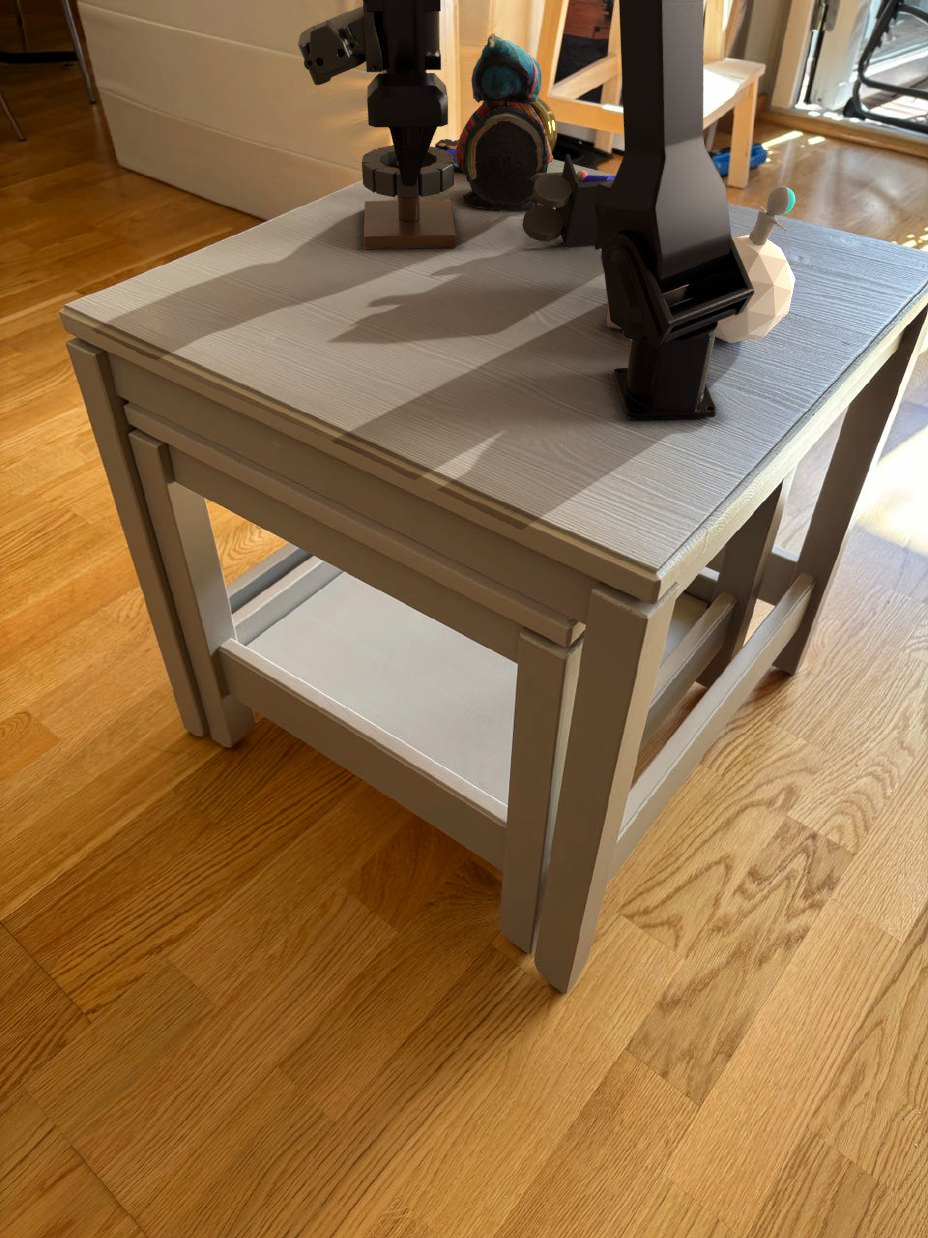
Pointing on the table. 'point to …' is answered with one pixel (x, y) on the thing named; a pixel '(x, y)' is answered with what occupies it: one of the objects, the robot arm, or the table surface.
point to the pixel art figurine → (450, 150)
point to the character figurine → (564, 206)
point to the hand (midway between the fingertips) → (408, 180)
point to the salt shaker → (546, 120)
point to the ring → (387, 178)
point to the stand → (409, 224)
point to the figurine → (503, 130)
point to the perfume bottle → (762, 275)
